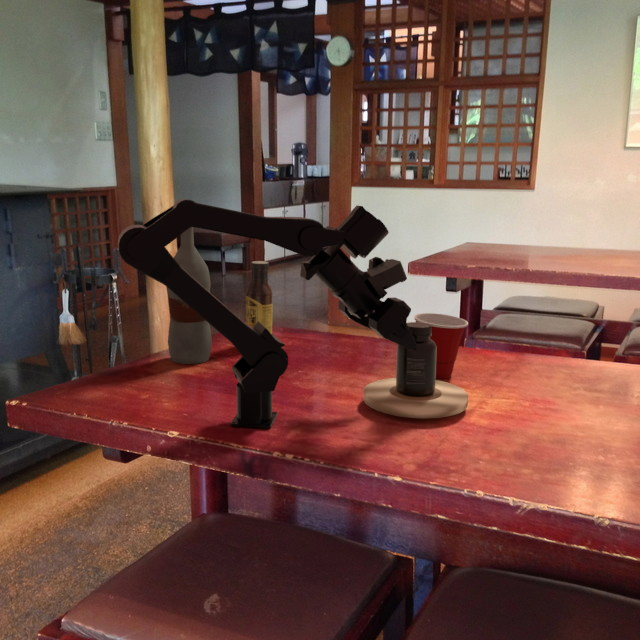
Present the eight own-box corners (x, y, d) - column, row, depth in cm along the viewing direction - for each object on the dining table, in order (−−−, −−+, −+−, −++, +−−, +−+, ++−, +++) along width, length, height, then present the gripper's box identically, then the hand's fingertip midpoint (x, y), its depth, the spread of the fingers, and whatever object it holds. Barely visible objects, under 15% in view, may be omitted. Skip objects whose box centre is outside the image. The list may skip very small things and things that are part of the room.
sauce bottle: (242, 343, 160) (241, 260, 156) (266, 341, 163) (266, 259, 158) (251, 349, 154) (250, 263, 150) (276, 347, 157) (276, 262, 153)
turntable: (472, 421, 107) (473, 411, 107) (360, 414, 109) (360, 405, 109) (463, 387, 125) (463, 379, 124) (366, 382, 127) (366, 374, 126)
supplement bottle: (442, 391, 117) (446, 324, 114) (420, 400, 112) (423, 331, 109) (410, 383, 121) (412, 318, 119) (387, 391, 116) (389, 324, 114)
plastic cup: (461, 385, 129) (464, 325, 127) (406, 379, 133) (408, 320, 130) (468, 371, 139) (472, 314, 137) (417, 365, 143) (419, 310, 140)
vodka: (161, 363, 141) (156, 220, 135) (176, 352, 150) (172, 218, 144) (204, 366, 140) (201, 221, 134) (217, 355, 149) (215, 219, 143)
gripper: (402, 249, 100) (462, 318, 106) (357, 238, 118) (411, 298, 123) (351, 302, 99) (414, 369, 105) (313, 283, 117) (369, 341, 122)
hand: (402, 341), depth 114 cm, fingers open, 9 cm apart
